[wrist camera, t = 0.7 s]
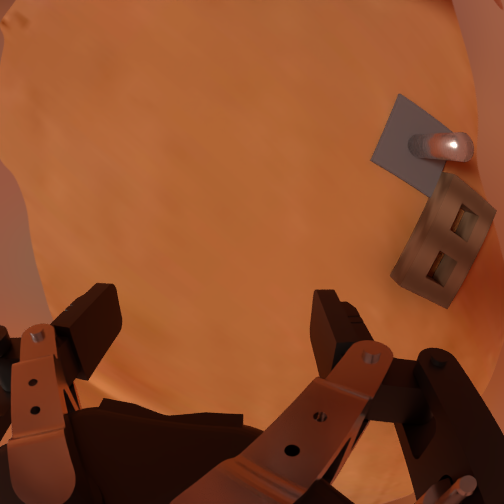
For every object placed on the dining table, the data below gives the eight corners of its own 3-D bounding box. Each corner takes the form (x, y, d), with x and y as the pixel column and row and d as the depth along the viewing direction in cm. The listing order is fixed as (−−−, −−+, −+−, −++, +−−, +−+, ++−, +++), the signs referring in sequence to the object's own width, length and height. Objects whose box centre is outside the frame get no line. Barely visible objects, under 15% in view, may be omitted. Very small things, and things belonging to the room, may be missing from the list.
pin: (412, 130, 32) (458, 126, 22) (429, 142, 32) (476, 143, 23) (404, 150, 33) (449, 151, 23) (421, 161, 33) (468, 167, 24)
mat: (398, 94, 31) (399, 93, 30) (454, 134, 32) (455, 134, 32) (370, 160, 34) (371, 160, 33) (429, 197, 35) (430, 198, 34)
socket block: (440, 171, 34) (454, 174, 30) (482, 205, 35) (496, 210, 32) (389, 275, 38) (400, 286, 35) (436, 298, 39) (447, 309, 36)
